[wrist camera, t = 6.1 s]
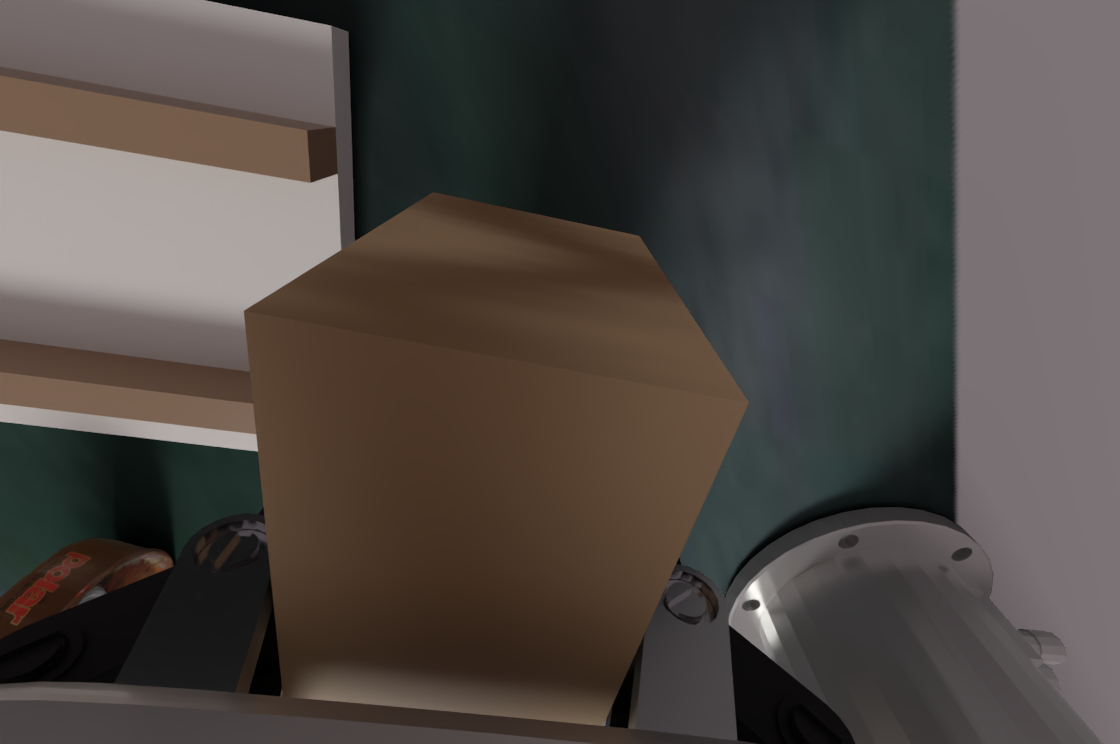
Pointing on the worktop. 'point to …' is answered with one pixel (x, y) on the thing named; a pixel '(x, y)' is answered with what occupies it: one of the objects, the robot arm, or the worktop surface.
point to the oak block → (479, 460)
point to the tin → (77, 579)
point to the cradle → (159, 205)
